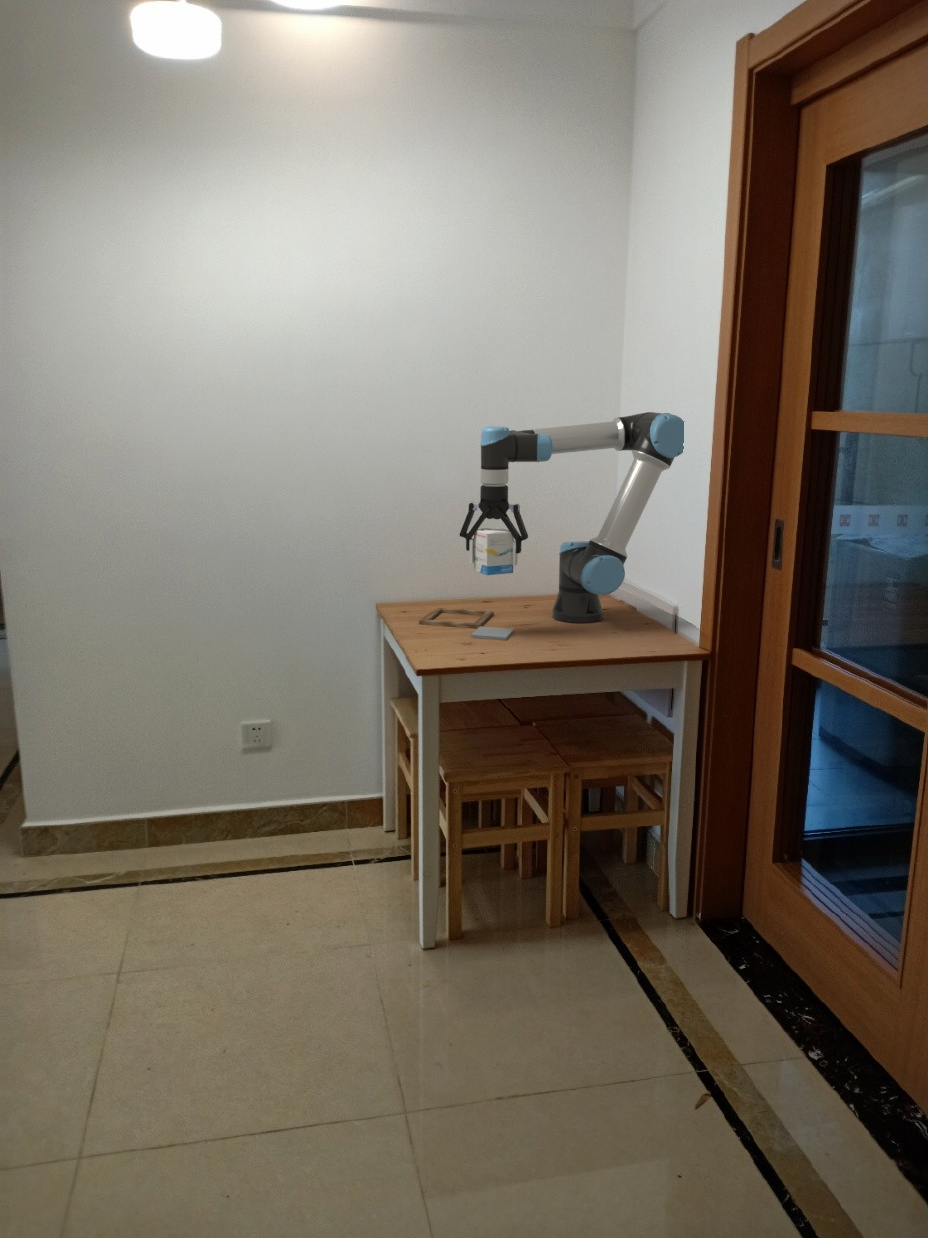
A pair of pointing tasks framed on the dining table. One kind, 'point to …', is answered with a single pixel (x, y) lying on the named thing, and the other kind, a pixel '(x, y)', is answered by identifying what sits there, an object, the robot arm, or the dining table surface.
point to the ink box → (493, 551)
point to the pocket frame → (428, 621)
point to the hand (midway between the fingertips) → (493, 563)
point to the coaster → (492, 633)
